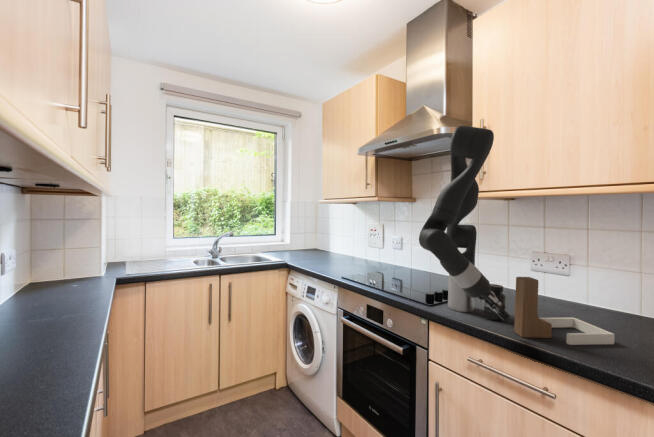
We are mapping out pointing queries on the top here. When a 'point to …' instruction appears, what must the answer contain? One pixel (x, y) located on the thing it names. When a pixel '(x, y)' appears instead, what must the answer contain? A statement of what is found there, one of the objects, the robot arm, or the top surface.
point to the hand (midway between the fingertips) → (506, 318)
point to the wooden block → (529, 310)
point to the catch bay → (591, 332)
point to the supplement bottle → (498, 293)
